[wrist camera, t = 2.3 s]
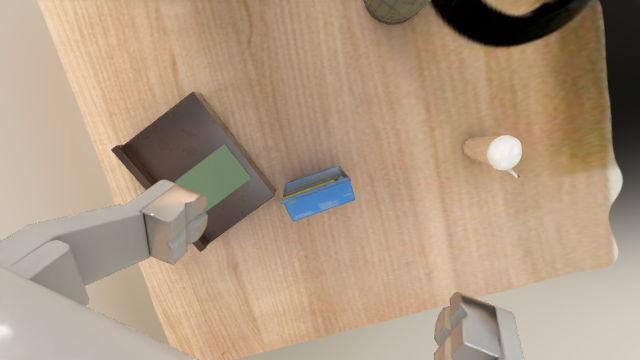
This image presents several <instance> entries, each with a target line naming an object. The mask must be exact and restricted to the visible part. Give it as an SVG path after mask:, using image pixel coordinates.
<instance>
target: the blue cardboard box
mask: <svg viewBox="0 0 640 360" xmlns="http://www.w3.org/2000/svg"><path fill="white" fill-rule="evenodd" d="M350 181H351V180H350V179H349V177H348V176H347V175H346V174H345V173H344V171H343V170H342V169H341V168H340V167H339V166H338V167H334V168H331V169H327V170H324V171H321V172H319V173H316V174H313V175H310V176H307V177H304V178H301V179H298V180H295V181H292V182H290V183H287V184H286V185H285V190H284V195H283V201H282V203H281V204H284V205H285V207H286V209H287V211H288V213H289V215H290V217H291V219H292V221H296V220H299V219H302V218H305V217H308V216H310V215H313V214H316V213H319V212H322V211H325V210H327V209H330V208H333V207H336V206H339V205H342V204H344V203H347V202H350V201H353V200H355V197H354V193H353V190H352V186H351V183H350Z"/></svg>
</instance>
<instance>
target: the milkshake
mask: <svg viewBox="0 0 640 360" xmlns="http://www.w3.org/2000/svg"><path fill="white" fill-rule="evenodd" d="M463 151H464V154H465V155H467V156H468V157H469V158H471V159H474V160H477V161H479V162H482V163H484V164H487V165H489V166H491V167H494V168H496V169H498V170H507V171H509V172H510V173H511V174H512V175H513V176H515V177H516V178H519V177H520V176H518V175H517V174H516V173H515V172H513V171H512V170H511V169H510V168H512V167H514V166H515V165H516V164H517V163H518V162H519V160H520V158H521V155H522V147H521V143H520V142H519V140H518V139H516V138H515V137H512V136H509V135H503V136H491V137H471V138H469V139H468V140H466V141H465V143H464V146H463Z"/></svg>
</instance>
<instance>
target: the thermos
mask: <svg viewBox="0 0 640 360" xmlns="http://www.w3.org/2000/svg"><path fill="white" fill-rule="evenodd" d="M430 1H431V0H364V3H365V6H366V8H367V10H368V11H369V13H370V14H371V15H372V17H374V18H375V19H377V20H378V21H379V22H382V23H385V24H389V25H391V24H400V23H402V22H405V21H407V20H408V19H409V18H411V17H412V16H414V15H415V14H417V13H418V12H419V11H420V10H421V9H422V8H423V7H425V6H426V5H427V4H428V3H429V2H430Z"/></svg>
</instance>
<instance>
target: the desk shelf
mask: <svg viewBox="0 0 640 360" xmlns="http://www.w3.org/2000/svg"><path fill="white" fill-rule="evenodd" d="M111 150H112V152H113V153H114V154H115V155H116V156H117V157H118V158H119V160H120V161H121V162H122V163H123V164H124V165H125V166H126V168H127V169H128V170H129V171H130V172H131V173H132V174H133V176H134V177H135V178H136V179H137V180H138V181H139V182H140V184H141V185H142V186H143V187H144V188H145V189H146V190H147V189H149V188H150V187H151V186H153V185H154V184H156V183H157V182H159V181H160V180H165V179H166V180H168V181H171V182H173V183H175V184H179V185H181V186H183V187H186V188H188V189H191V190H193V191H196V192H198V193H200V194H203V195H205V196H206V197H207V204H208V205H207V206H206V207H205V208H204V210H205V212H206V213H207V215H208V221H207V225H206V228H205V230H204V232H203V234H202V235H201V237H200V238H199V239H198V240H197V241H196V242H193V244H194V245H195V247H196V248H197V249H198V250H199V251H200V252H201V251H202V250H204V249H205V248H206V247H207V245H208V244H209V243H210V242H211V241H213V240H214V239H215V238H217V237H218V236H220V235H221V234H222V233H224V232H225V231H226V230H228V229H229V228H231V227H232V226H233V225H235V224H236V223H237V222H239V221H240V220H242V219H243V218H244V217H246V216H247V215H248V214H250V213H251V212H253V211H254V210H255V209H257V208H258V207H259V206H261V205H262V204H264V203H265V202H266V201H268V200H269V199H270V198H272V197H273V196H274V195H275V192H276V190H275V189H274V188H273V186H272V185H271V184H270V183H269V181H268V180H267V179H266V177H265V176H264V175H263V174H262V172H261V171H260V170H259V169H258V167H257V166H256V165H255V163H254V162H253V161H252V160H251V158H250V157H249V156H248V154H247V153H246V152H245V151H244V149H243V148H242V147H241V145H240V144H239V143H238V142H237V140H236V139H235V138H234V136H233V135H232V134H231V133H230V131H229V130H228V129H227V127H226V126H225V125H224V124H223V122H222V121H221V120H220V119H219V117H218V116H217V115H216V113H215V112H214V111H213V110H212V108H211V107H210V106H209V104H208V103H207V102H206V101H205V99H204V98H203V97H202V95H201V94H200V93H196V92H192V93H191V94H189V95H188V96H187V97H186V98H184V99H183V100H182V101H180V102H179V103H178V104H176V105H175V106H174V107H173V108H171V109H170V110H169V111H167V112H166V113H165V114H163V115H162V116H161V117H160V118H158V119H157V120H156V121H154V122H153V123H152V124H150V125H149V126H148V127H147V128H145V129H144V130H143V131H141V132H140V133H139V134H138V135H136V136H135V137H134V138H132V139H131V140H130V141H128V142H127V143H126V144H124V145H117V146H115V147H114V148H113V149H111Z"/></svg>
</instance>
